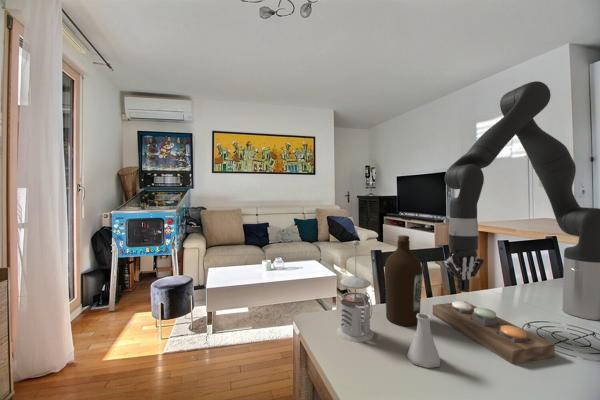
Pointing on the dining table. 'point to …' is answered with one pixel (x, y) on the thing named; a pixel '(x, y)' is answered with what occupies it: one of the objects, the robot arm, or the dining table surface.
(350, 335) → the french press
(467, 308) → the button cream
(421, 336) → the flask
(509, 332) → the button orange
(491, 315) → the button sage
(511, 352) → the console
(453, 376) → the dining table surface
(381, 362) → the dining table surface
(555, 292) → the dining table surface
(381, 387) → the dining table surface
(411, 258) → the olive oil
